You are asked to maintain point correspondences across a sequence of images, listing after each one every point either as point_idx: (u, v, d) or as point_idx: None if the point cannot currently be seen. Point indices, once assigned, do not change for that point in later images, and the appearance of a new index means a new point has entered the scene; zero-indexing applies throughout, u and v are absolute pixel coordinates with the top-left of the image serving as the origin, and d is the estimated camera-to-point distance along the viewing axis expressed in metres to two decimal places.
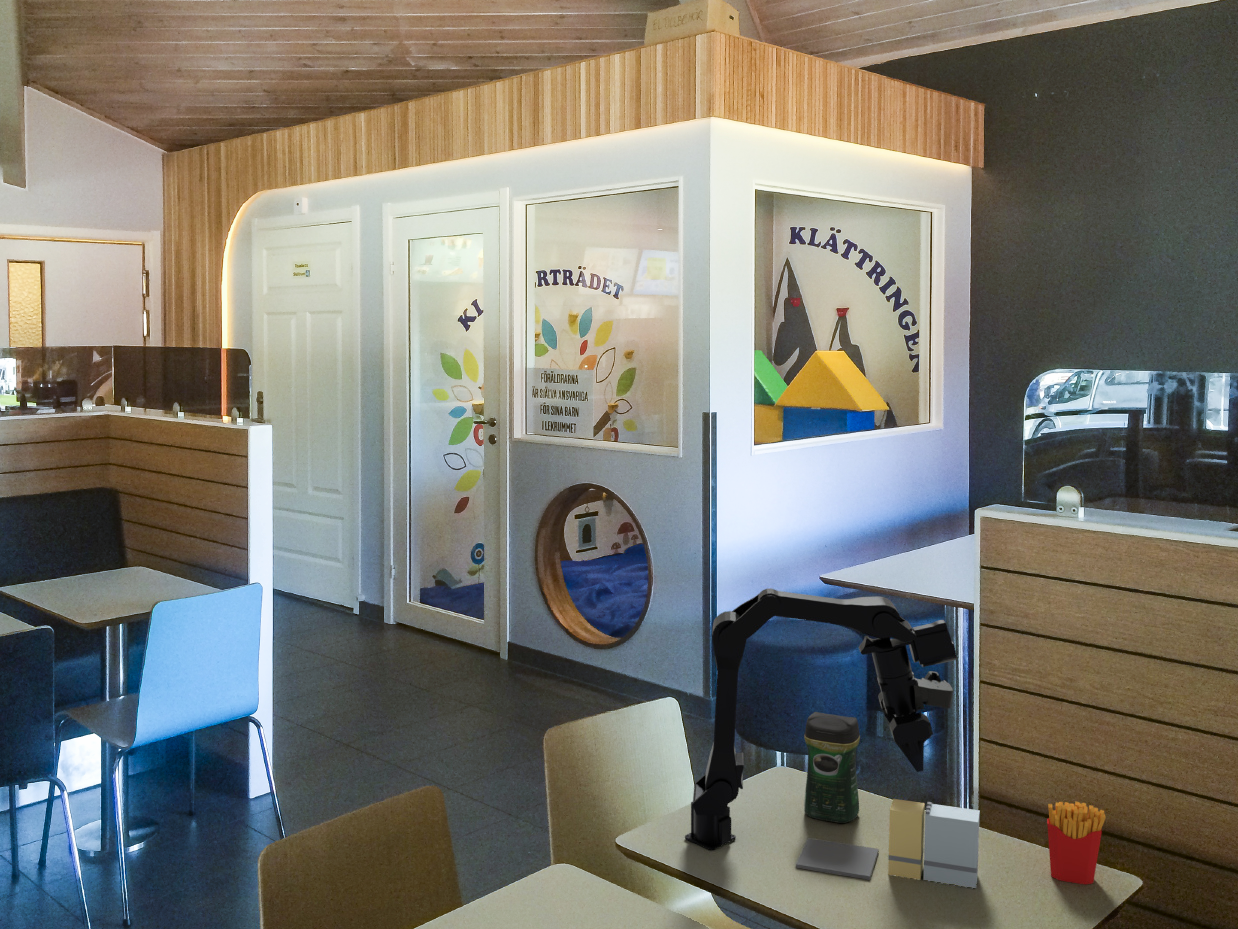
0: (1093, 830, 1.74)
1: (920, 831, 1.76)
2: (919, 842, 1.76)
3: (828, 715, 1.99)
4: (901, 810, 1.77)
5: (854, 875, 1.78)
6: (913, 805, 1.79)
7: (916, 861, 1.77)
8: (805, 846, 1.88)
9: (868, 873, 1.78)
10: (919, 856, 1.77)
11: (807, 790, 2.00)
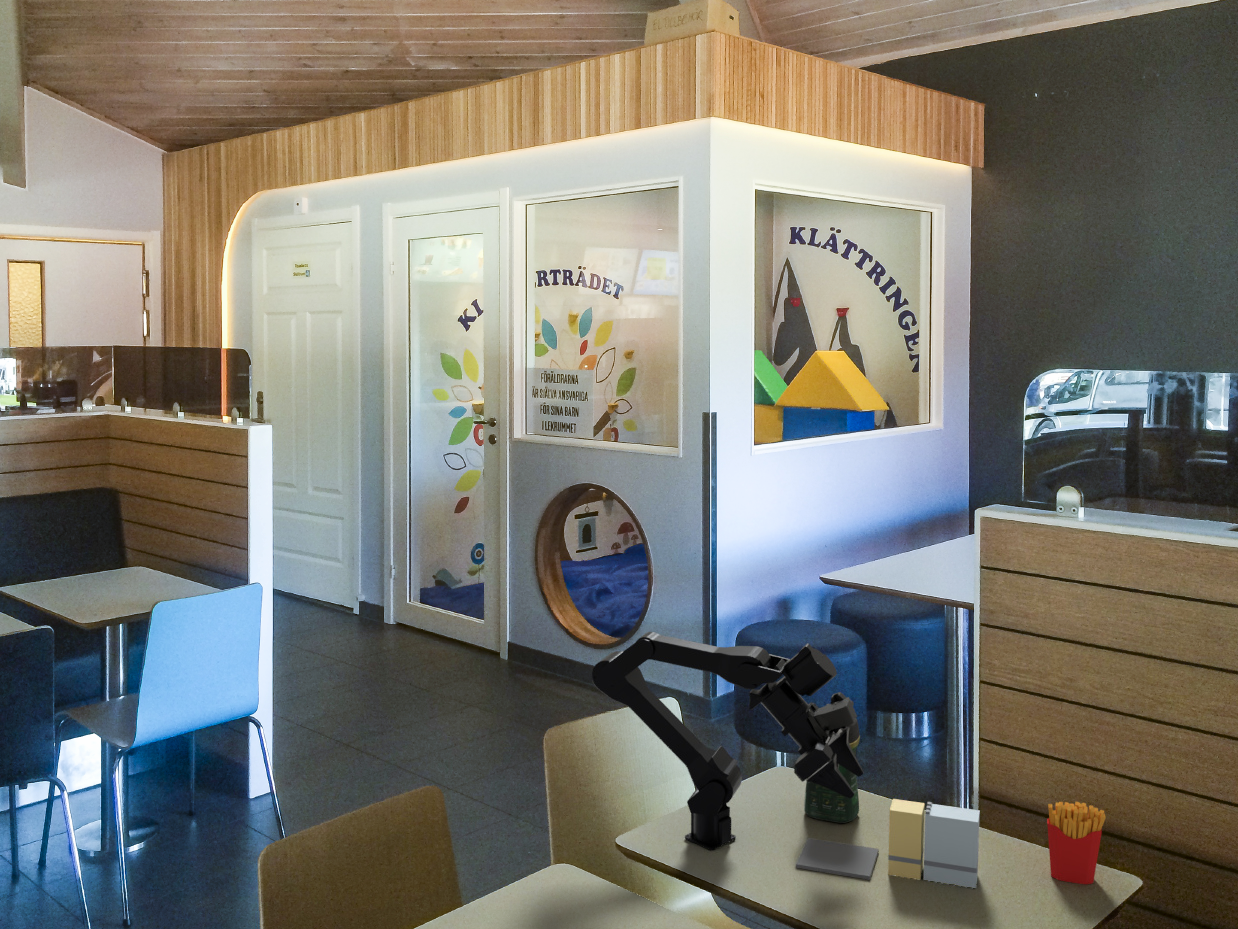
0: (1093, 830, 1.74)
1: (920, 831, 1.76)
2: (919, 842, 1.76)
3: None
4: (901, 810, 1.77)
5: (854, 875, 1.78)
6: (913, 805, 1.79)
7: (916, 861, 1.77)
8: (805, 846, 1.88)
9: (868, 873, 1.78)
10: (919, 856, 1.77)
11: (807, 790, 2.00)
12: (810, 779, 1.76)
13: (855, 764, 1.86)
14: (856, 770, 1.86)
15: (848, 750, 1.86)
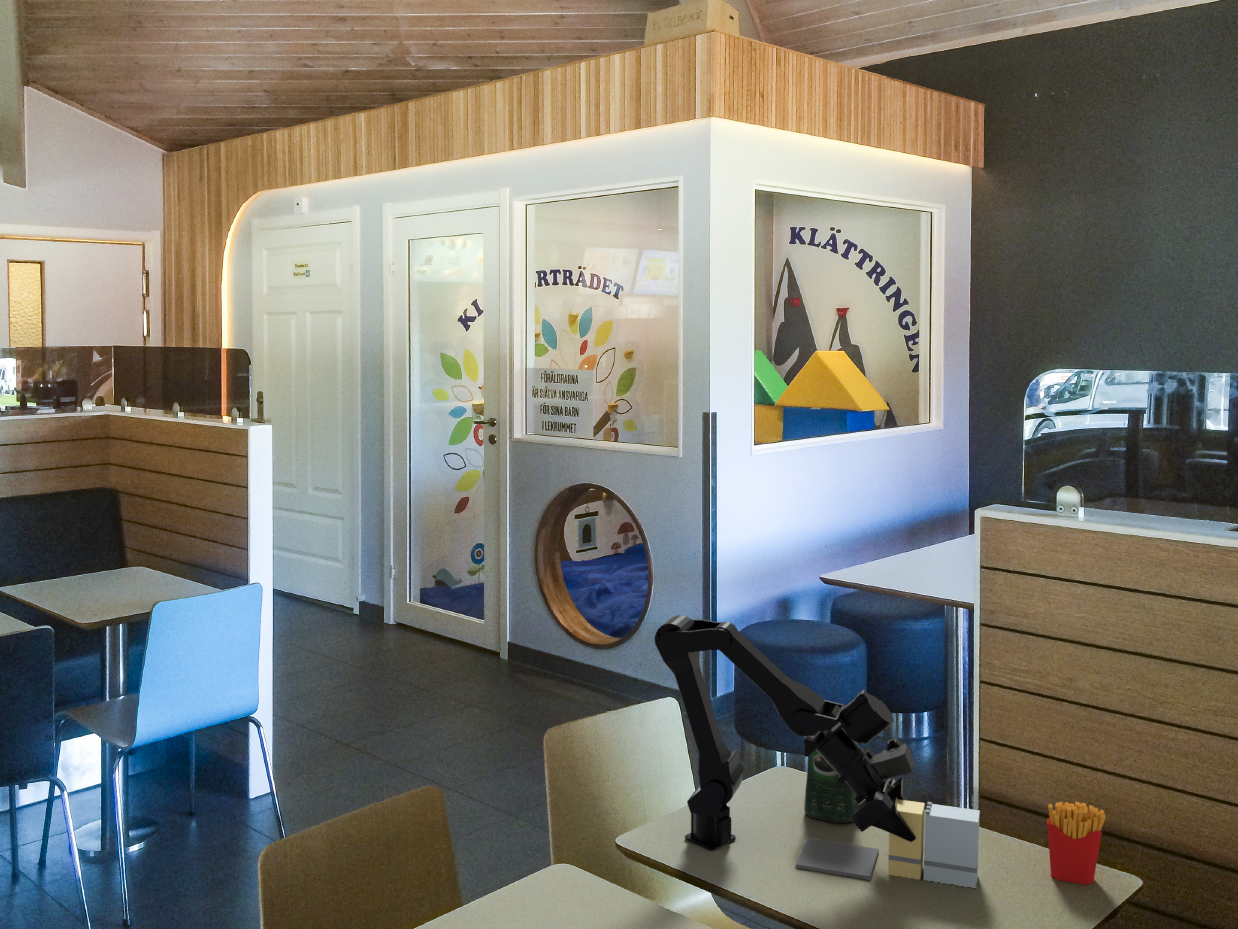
0: (1093, 830, 1.74)
1: (920, 831, 1.76)
2: (919, 842, 1.76)
3: None
4: (901, 810, 1.77)
5: (854, 875, 1.78)
6: (913, 805, 1.79)
7: (916, 861, 1.77)
8: (805, 846, 1.88)
9: (868, 873, 1.78)
10: (919, 856, 1.77)
11: (807, 790, 2.00)
12: (871, 823, 1.75)
13: None
14: None
15: None
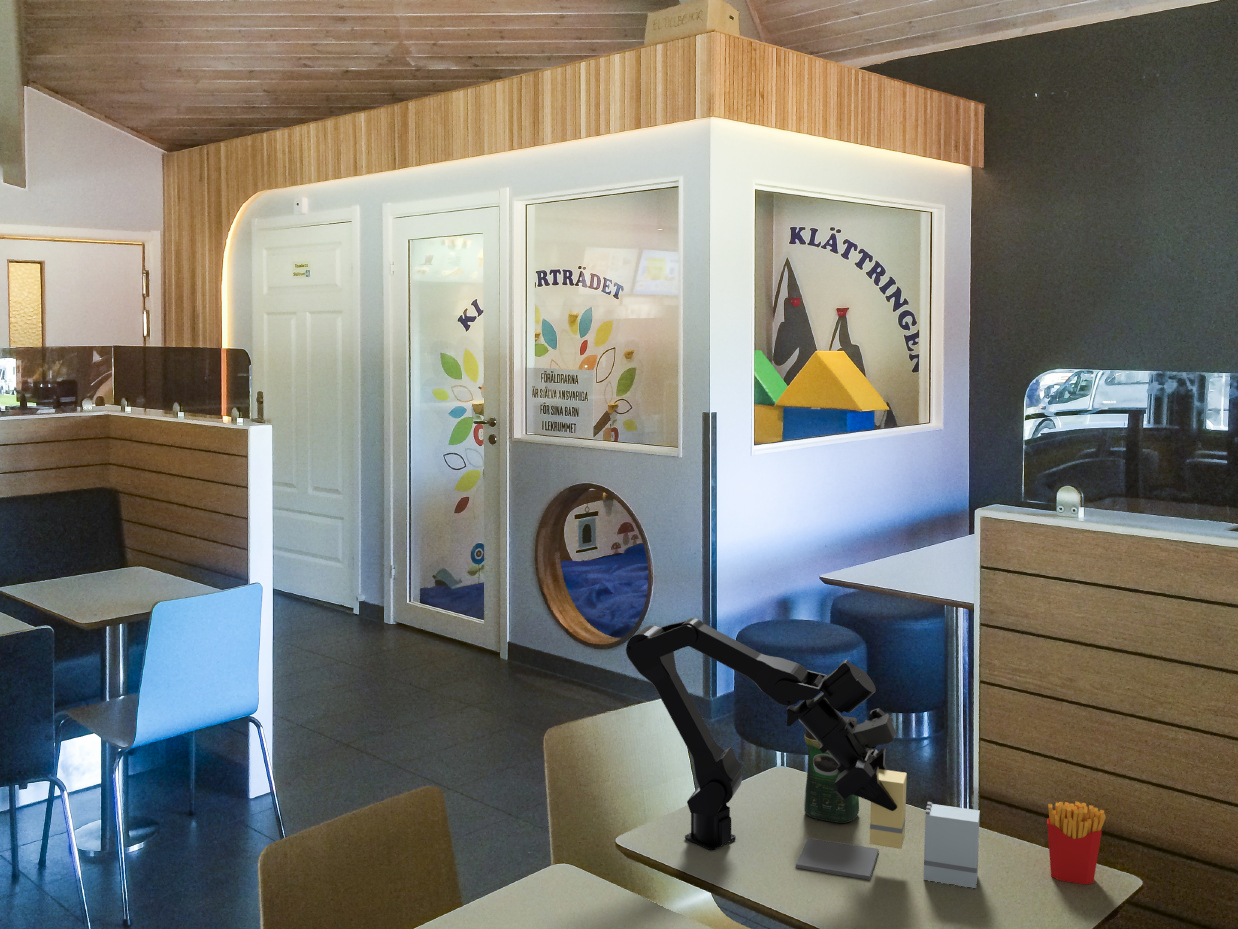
0: (1093, 830, 1.74)
1: (901, 800, 1.77)
2: (900, 811, 1.77)
3: None
4: (883, 779, 1.78)
5: (854, 875, 1.78)
6: (895, 775, 1.79)
7: (897, 830, 1.77)
8: (805, 846, 1.88)
9: (868, 873, 1.78)
10: (900, 825, 1.77)
11: (807, 790, 2.00)
12: (853, 792, 1.76)
13: None
14: None
15: None
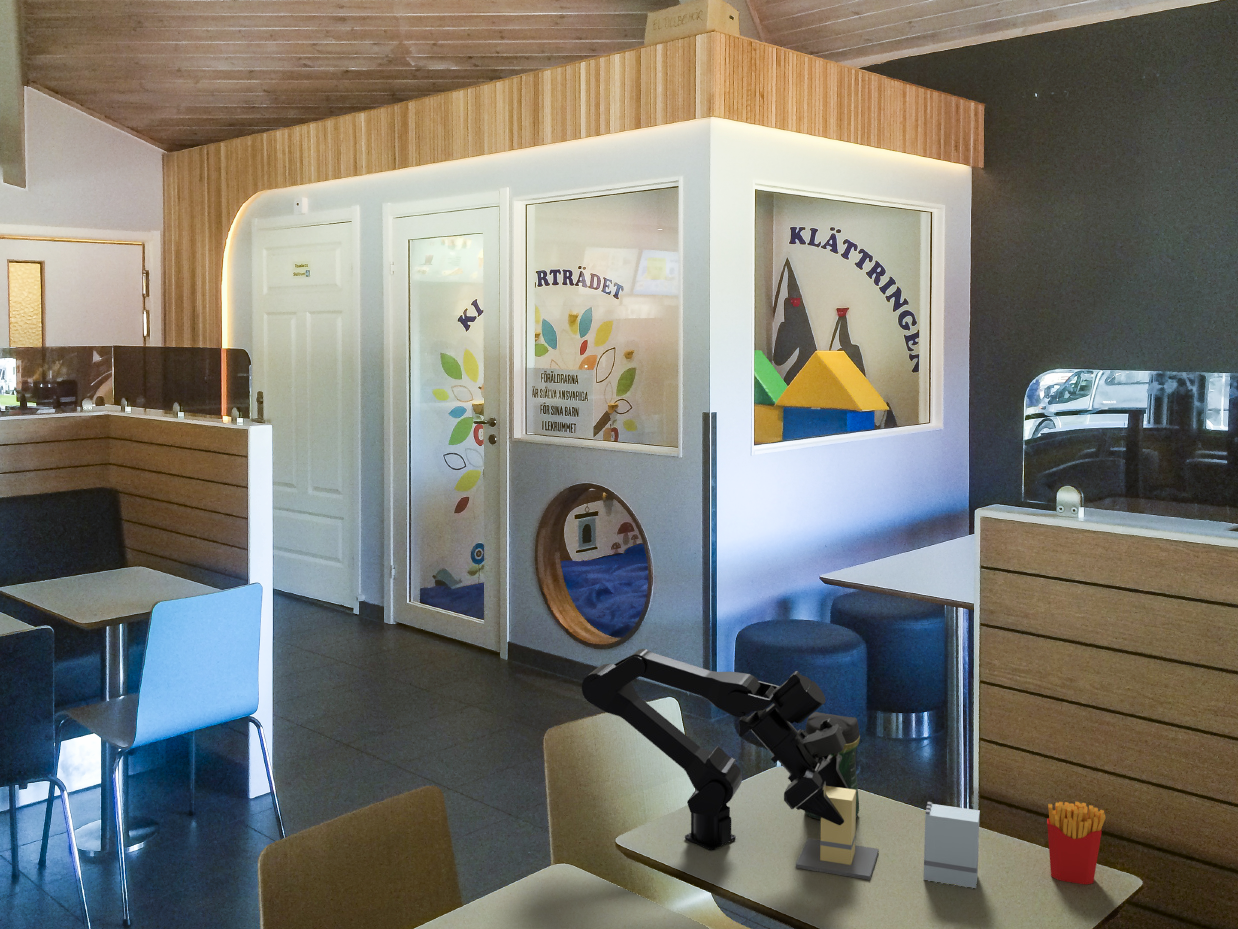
0: (1093, 830, 1.74)
1: (850, 817, 1.80)
2: (850, 828, 1.80)
3: (828, 715, 1.99)
4: (832, 796, 1.81)
5: (854, 875, 1.78)
6: (844, 792, 1.83)
7: (847, 846, 1.81)
8: (805, 846, 1.88)
9: (868, 873, 1.78)
10: (850, 841, 1.81)
11: None
12: (800, 807, 1.77)
13: None
14: None
15: (838, 776, 1.87)
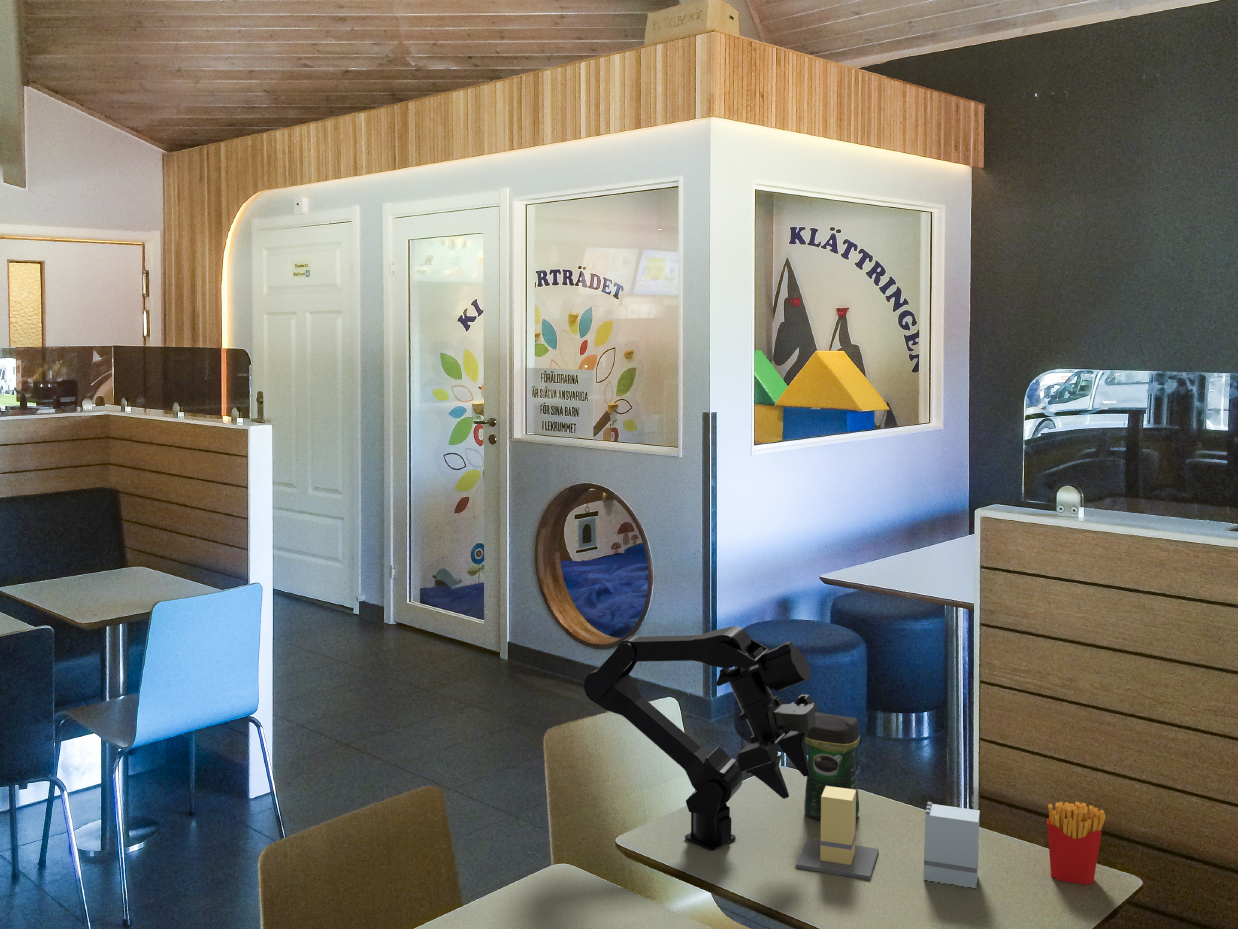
0: (1093, 830, 1.74)
1: (850, 817, 1.80)
2: (850, 828, 1.80)
3: (828, 715, 1.99)
4: (832, 796, 1.81)
5: (854, 875, 1.78)
6: (844, 792, 1.83)
7: (847, 846, 1.81)
8: (805, 846, 1.88)
9: (868, 873, 1.78)
10: (850, 841, 1.81)
11: (807, 790, 2.00)
12: (749, 771, 1.79)
13: (804, 764, 1.87)
14: (803, 770, 1.88)
15: (801, 749, 1.88)
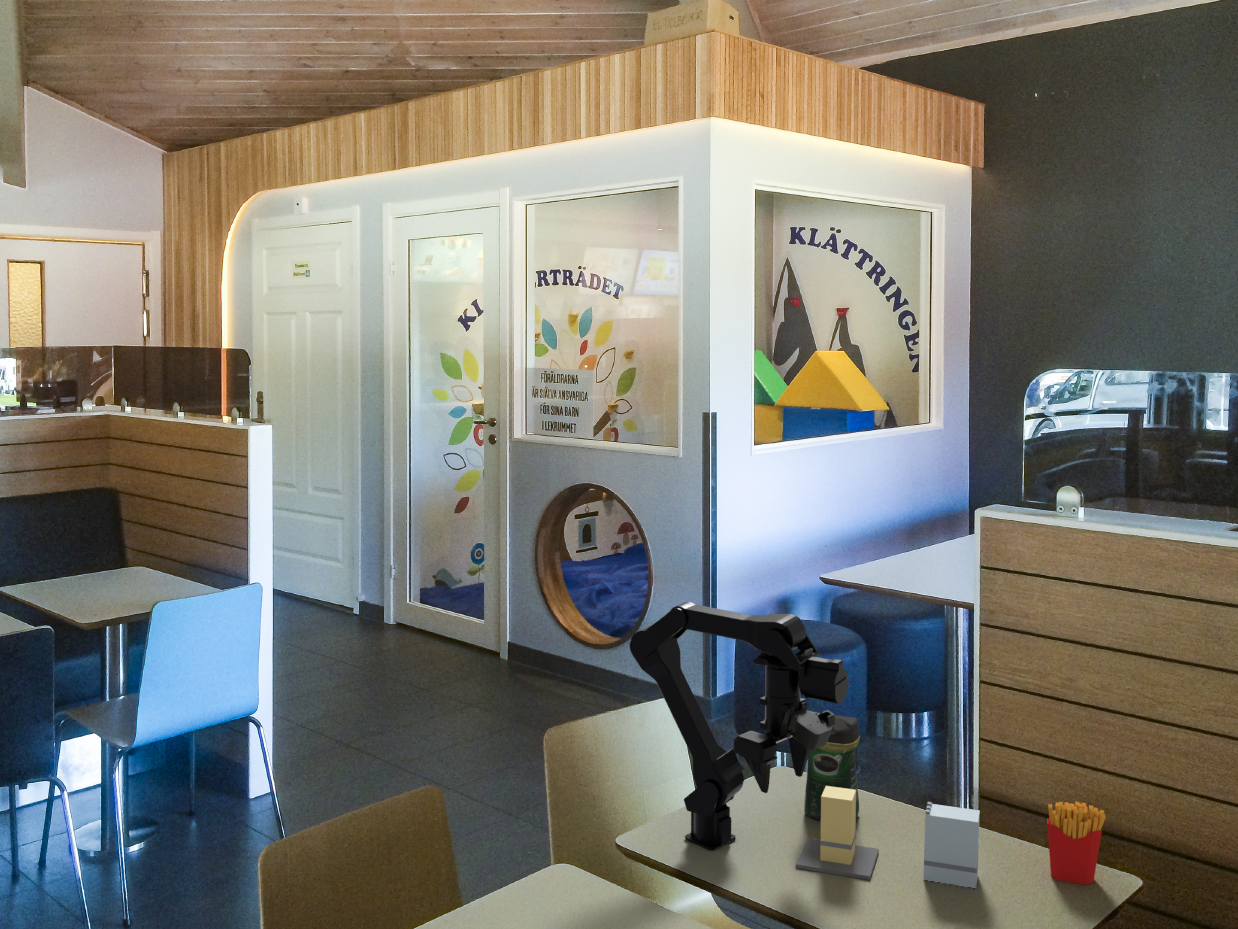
0: (1093, 830, 1.74)
1: (850, 817, 1.80)
2: (850, 828, 1.80)
3: None
4: (832, 796, 1.81)
5: (854, 875, 1.78)
6: (844, 792, 1.83)
7: (847, 846, 1.81)
8: (805, 846, 1.88)
9: (868, 873, 1.78)
10: (850, 841, 1.81)
11: (807, 790, 2.00)
12: (741, 755, 1.78)
13: (800, 766, 1.85)
14: (798, 770, 1.86)
15: (805, 752, 1.85)
